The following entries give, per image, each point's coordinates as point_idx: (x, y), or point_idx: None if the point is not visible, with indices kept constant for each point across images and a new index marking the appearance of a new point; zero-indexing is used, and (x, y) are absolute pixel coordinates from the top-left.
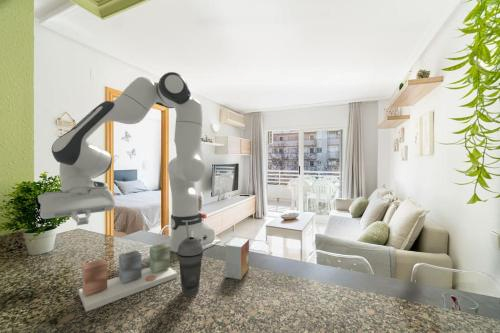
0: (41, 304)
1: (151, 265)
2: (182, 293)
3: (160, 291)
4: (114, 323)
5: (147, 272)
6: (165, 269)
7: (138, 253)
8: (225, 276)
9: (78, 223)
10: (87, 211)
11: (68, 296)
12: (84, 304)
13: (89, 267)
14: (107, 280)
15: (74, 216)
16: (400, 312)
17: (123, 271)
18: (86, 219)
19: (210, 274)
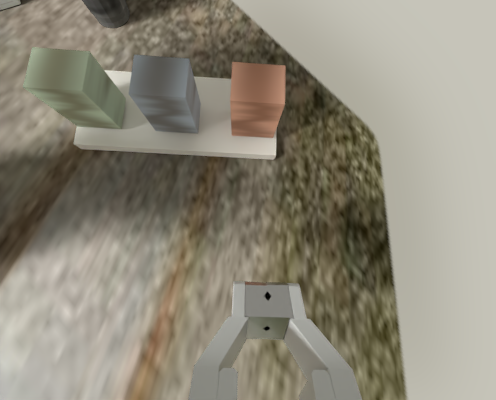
0: (333, 173)
1: (116, 111)
2: (127, 18)
3: (152, 55)
4: (249, 29)
5: (135, 121)
6: None
7: (137, 66)
8: (20, 2)
9: (292, 283)
10: (225, 378)
11: (291, 167)
12: None
13: (274, 69)
14: (219, 150)
15: (328, 341)
16: None
17: (195, 84)
18: (245, 293)
19: (33, 35)
